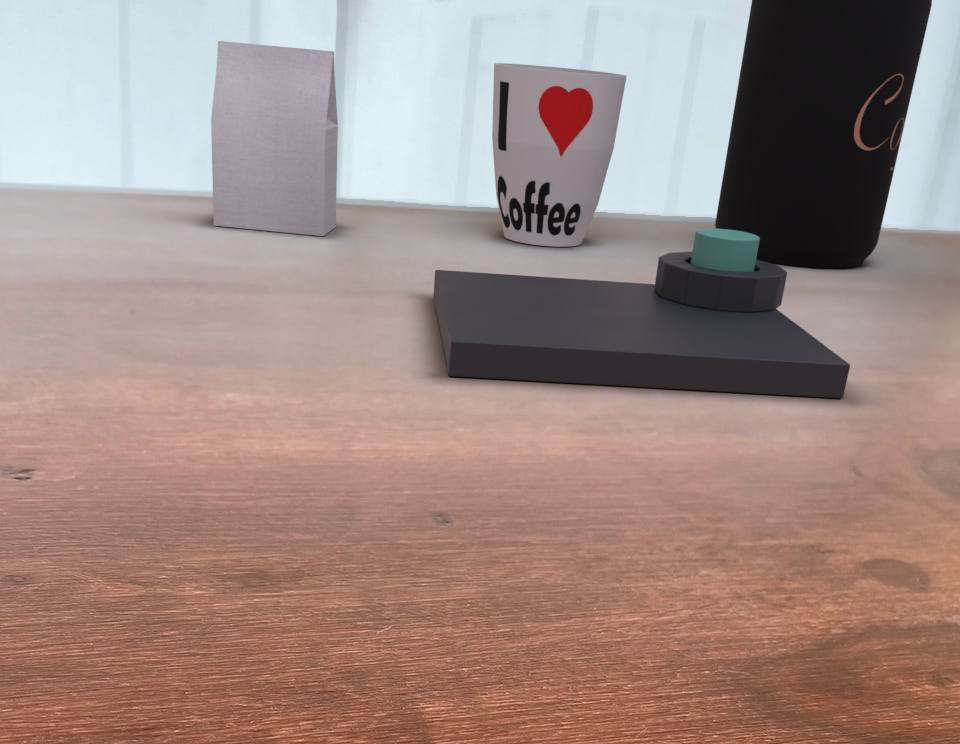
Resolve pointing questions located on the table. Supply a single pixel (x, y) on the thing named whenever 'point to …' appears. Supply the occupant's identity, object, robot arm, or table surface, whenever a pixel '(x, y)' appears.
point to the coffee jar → (819, 126)
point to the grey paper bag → (274, 139)
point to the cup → (552, 149)
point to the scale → (635, 331)
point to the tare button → (725, 250)
